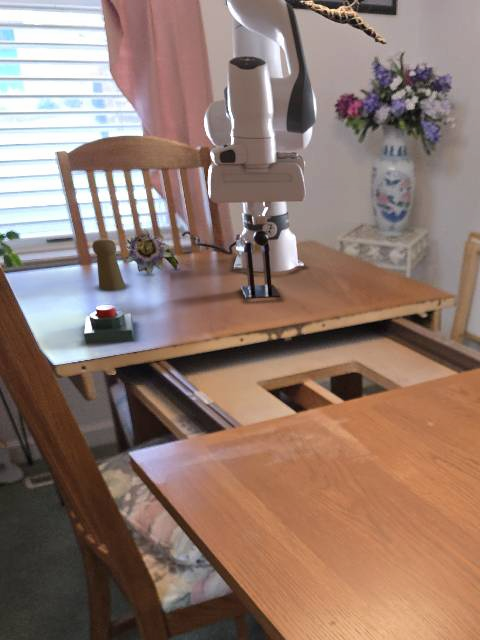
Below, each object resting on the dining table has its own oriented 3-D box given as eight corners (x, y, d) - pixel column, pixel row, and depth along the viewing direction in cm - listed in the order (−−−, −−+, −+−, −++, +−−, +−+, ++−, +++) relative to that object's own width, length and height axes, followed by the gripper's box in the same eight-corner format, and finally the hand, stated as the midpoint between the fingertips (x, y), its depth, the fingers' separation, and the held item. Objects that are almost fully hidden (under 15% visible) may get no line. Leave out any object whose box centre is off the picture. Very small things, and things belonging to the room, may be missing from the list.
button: (97, 313, 145) (95, 305, 144) (116, 312, 146) (114, 304, 145) (97, 319, 142) (95, 310, 141) (116, 318, 143) (114, 309, 142)
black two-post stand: (280, 300, 168) (276, 244, 161) (246, 302, 166) (241, 245, 159) (273, 289, 176) (270, 234, 168) (241, 291, 173) (236, 236, 166)
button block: (88, 326, 149) (84, 307, 147) (133, 323, 152) (129, 304, 149) (86, 344, 141) (81, 324, 138) (133, 341, 143) (130, 321, 141)
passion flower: (153, 295, 186) (119, 260, 177) (149, 276, 193) (115, 241, 184) (187, 269, 184) (153, 232, 175) (181, 251, 191) (149, 215, 182)
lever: (270, 243, 154) (268, 228, 154) (255, 244, 153) (253, 228, 153) (263, 256, 166) (262, 242, 166) (250, 257, 166) (248, 242, 165)
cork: (129, 284, 175) (120, 237, 168) (119, 291, 170) (109, 243, 163) (105, 283, 175) (96, 236, 169) (94, 290, 170) (84, 241, 164)
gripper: (301, 150, 151) (304, 220, 158) (203, 150, 145) (211, 222, 153) (307, 154, 146) (310, 226, 154) (205, 154, 140) (214, 228, 148)
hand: (260, 224), depth 153 cm, fingers closed
